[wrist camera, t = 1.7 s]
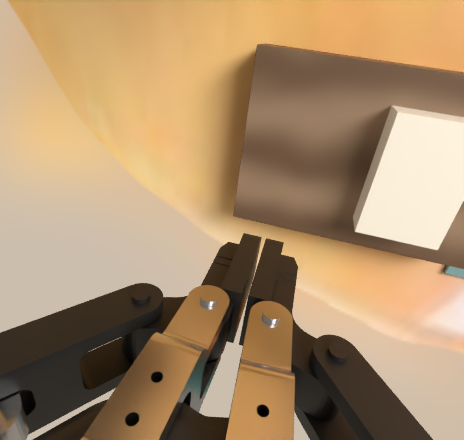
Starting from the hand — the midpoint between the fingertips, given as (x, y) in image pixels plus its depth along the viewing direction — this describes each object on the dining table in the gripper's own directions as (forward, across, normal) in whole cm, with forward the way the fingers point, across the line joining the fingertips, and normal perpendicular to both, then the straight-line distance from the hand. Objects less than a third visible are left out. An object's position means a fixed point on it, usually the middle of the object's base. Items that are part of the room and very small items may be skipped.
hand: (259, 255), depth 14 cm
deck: (+19, -6, 0) cm, 20 cm away
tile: (+15, -9, 0) cm, 17 cm away
